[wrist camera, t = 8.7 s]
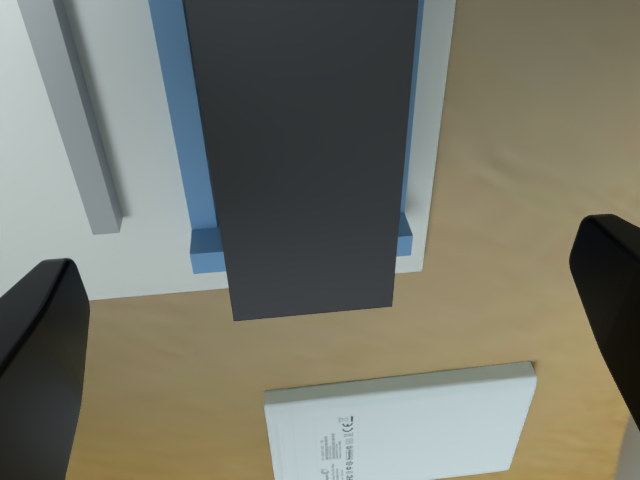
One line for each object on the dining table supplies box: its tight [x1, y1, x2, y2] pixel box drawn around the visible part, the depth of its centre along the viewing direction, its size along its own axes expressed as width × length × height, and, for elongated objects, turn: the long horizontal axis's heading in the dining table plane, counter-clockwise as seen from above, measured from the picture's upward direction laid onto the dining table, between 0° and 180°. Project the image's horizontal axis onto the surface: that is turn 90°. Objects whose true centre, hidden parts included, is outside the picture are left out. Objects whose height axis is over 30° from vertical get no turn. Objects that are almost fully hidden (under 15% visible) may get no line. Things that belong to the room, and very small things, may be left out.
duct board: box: [0, 0, 456, 300], centre depth 15 cm, size 18×18×3 cm
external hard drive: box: [264, 361, 537, 480], centre depth 30 cm, size 2×8×12 cm
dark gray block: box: [185, 0, 419, 321], centre depth 14 cm, size 10×4×6 cm, turn 1°
